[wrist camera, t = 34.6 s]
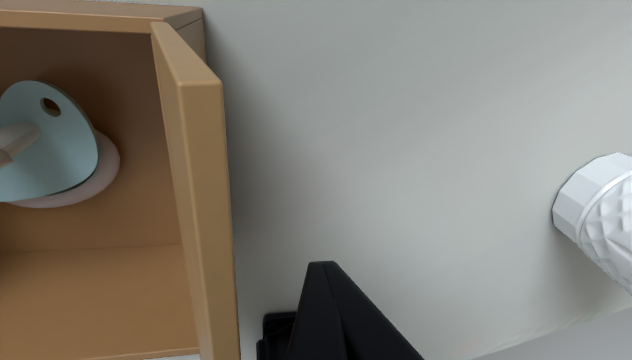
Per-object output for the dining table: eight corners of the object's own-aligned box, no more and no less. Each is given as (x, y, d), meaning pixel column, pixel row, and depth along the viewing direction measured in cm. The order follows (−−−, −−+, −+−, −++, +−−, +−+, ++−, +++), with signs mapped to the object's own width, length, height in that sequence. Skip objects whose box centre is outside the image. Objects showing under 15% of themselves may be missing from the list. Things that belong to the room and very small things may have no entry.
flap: (149, 21, 8) (168, 22, 8) (202, 369, 14) (212, 365, 14) (176, 82, 3) (223, 80, 3) (240, 583, 9) (255, 574, 9)
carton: (201, 7, 15) (164, 17, 8) (222, 242, 21) (208, 353, 14) (-159, -15, 13) (-577, -23, 6) (-21, 255, 19) (-164, 392, 12)
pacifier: (149, 176, 18) (82, 60, 15) (107, 260, 13) (-11, 106, 9) (11, 216, 18) (-87, 107, 15) (-91, 318, 12) (-281, 181, 9)
